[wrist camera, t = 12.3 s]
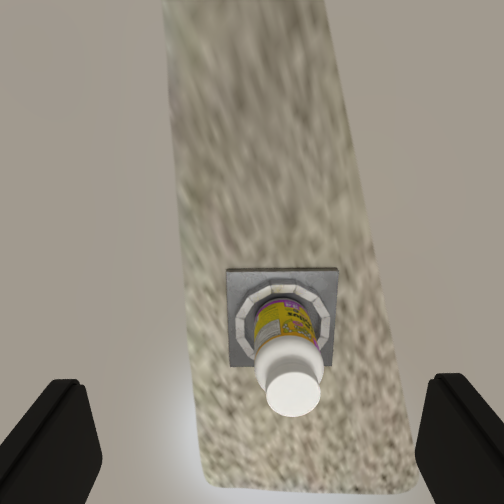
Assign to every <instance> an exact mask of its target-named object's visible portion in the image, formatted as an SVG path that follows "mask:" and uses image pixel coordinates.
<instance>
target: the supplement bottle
mask: <svg viewBox="0 0 504 504" xmlns="http://www.w3.org/2000/svg"><path fill="white" fill-rule="evenodd" d="M254 347H255V348H254V349H255V362H254V366H255V376H256V379H257V381H258V383H259V385H260V386H261V387H262V388H263V390H264V391H266V398H267V402H268V404H269V405H270V407H271V408H272V409H273V410H274V411H275V412H277V413H279V414H281V415H284V416H288V417H297V416H301V415H304V414H306V413H308V412H310V411H311V410H313V409H314V408H315V406H316V405H317V404H318V402H319V399H320V394H321V392H320V386H319V383H320V381H321V379H322V377H323V372H324V364H323V359H322V356H321V353H320V350H319V346H318V343H317V340H316V337H315V334H314V330H313V327H312V324H311V321H310V318H309V315H308V313H307V311H306V309H305V308H304V307H303V306H302V305H301V304H300V303H298V302H297V301H295V300H292V299H289V298H276V299H273V300H270V301H268V302H267V303H265V304H264V305H263V306H262V307H261V308H260V309H259V311H258V312H257V314H256V317H255V324H254Z"/></svg>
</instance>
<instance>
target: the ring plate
mask: <svg viewBox="0 0 504 504" xmlns="http://www.w3.org/2000/svg"><path fill="white" fill-rule="evenodd" d="M338 274H339V271H338V269H337V268H285V269H227V271H226V280H227V306H228V332H229V357H230V367H255V366H254V362H255V349H254V348H255V347H254V324H255V317H256V314H257V312H258V311H259V309H260V308H261V307H262V306H263V305H264V304H265V303H267V302H268V301H270V300H273V299H276V298H289V299H292V300H295V301H297V302H298V303H300V304H301V305H302V306H303V307H304V308H305V309H306V311H307V313H308V315H309V318H310V321H311V324H312V327H313V330H314V334H315V337H316V340H317V343H318V346H319V350H320V353H321V356H322V359H323V364H324V366H332V356H333V342H334V329H335V315H336V302H337V288H338Z"/></svg>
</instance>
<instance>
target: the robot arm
mask: <svg viewBox="0 0 504 504" xmlns="http://www.w3.org/2000/svg"><path fill="white" fill-rule="evenodd" d="M415 459H416V463H417V466H418V468H419V470H420V472H421V474H422V476H423V478H424V480H425V483H426V485H427V487H428V489H429V491H430V493H431V495H432V497H433V499H434V501H435V503H436V504H504V423H503V422H502V420H501V419H500V418H499V417H498V416H497V415H496V413H495V412H494V411H493V410H492V408H491V407H490V406H489V405H488V404H487V403H486V401H485V400H484V399H483V398H482V397H481V395H480V394H479V393H478V392H477V391H476V389H475V388H474V387H473V386H472V385H471V383H470V382H469V381H468V380H467V379H466V378H465V376H463V375H462V374H460V373H439V374H436V375H435V377H434V379H431V380H430V381H429V383H428V388H427V393H426V398H425V403H424V407H423V412H422V417H421V422H420V428H419V433H418V438H417V442H416V447H415ZM101 465H102V452H101V448H100V444H99V440H98V436H97V432H96V428H95V424H94V420H93V416H92V412H91V408H90V404H89V400H88V396H87V392H86V388H85V386H84V385H80V383H79V381H78V380H77V379H56V380H53V381H51V382H50V384H49V385H48V386H47V387H46V388H45V390H44V391H43V392H42V393H41V395H40V396H39V397H38V399H37V400H36V401H35V402H34V403H33V405H32V406H31V407H30V409H29V410H28V411H27V412H26V414H25V415H24V416H23V417H22V419H21V420H20V421H19V422H18V424H17V425H16V426H15V428H14V429H13V430H12V431H11V432H10V434H9V435H8V436H7V437H6V439H5V440H4V441H3V443H2V444H1V445H0V504H85V502H86V500H87V498H88V496H89V493H90V491H91V489H92V487H93V484H94V482H95V480H96V477H97V475H98V473H99V471H100V468H101Z"/></svg>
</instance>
